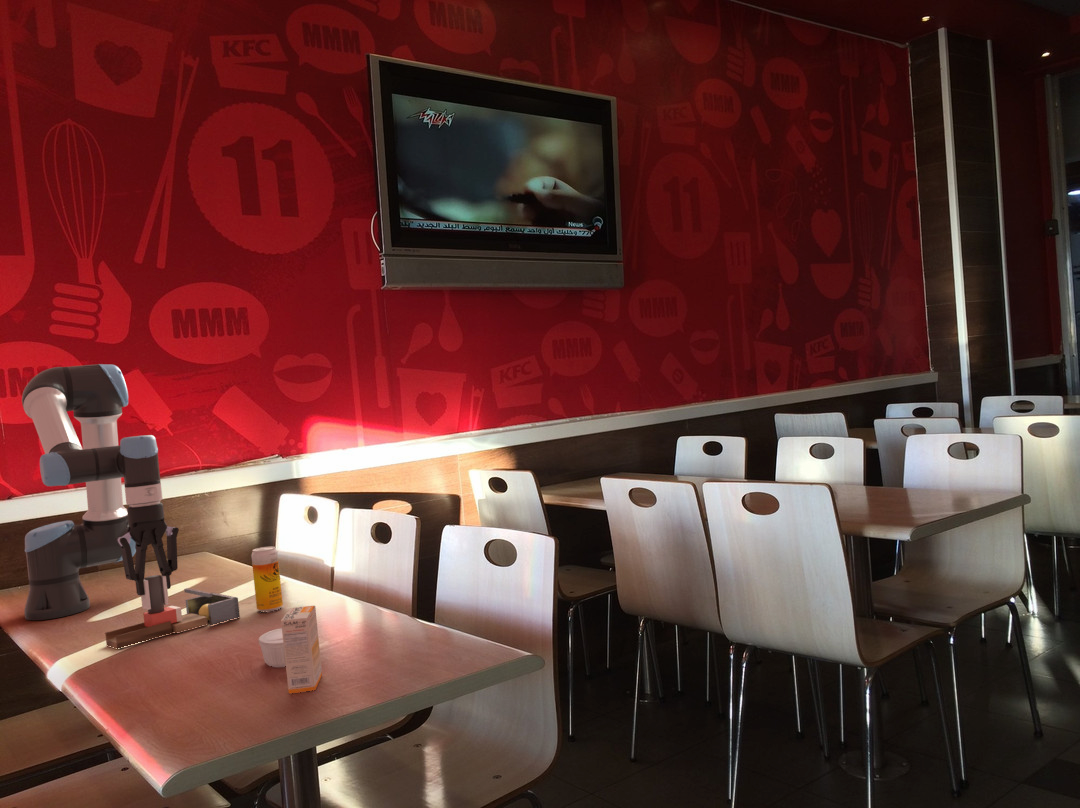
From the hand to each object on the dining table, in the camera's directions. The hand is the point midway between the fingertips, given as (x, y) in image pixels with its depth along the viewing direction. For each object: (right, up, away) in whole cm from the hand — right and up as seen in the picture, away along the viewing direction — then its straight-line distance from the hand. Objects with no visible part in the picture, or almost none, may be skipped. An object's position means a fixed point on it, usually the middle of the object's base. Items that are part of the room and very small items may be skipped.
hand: (155, 606), depth 200 cm
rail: (-2, -7, -3) cm, 8 cm away
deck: (+5, -6, +5) cm, 9 cm away
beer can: (+22, -4, +15) cm, 26 cm away
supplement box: (+46, -4, -44) cm, 63 cm away
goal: (+9, -5, +10) cm, 15 cm away
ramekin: (+39, -4, -28) cm, 48 cm away
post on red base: (+1, -4, +1) cm, 4 cm away
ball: (+8, -4, +9) cm, 13 cm away
